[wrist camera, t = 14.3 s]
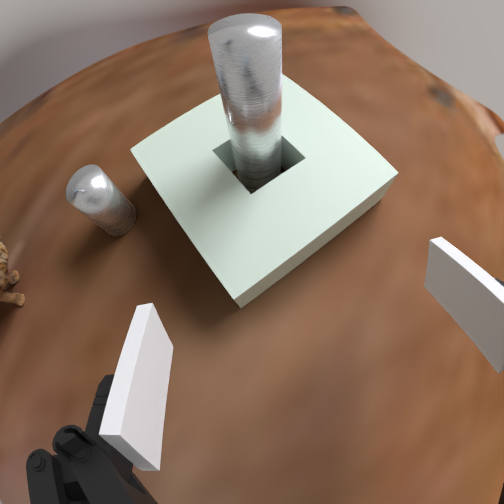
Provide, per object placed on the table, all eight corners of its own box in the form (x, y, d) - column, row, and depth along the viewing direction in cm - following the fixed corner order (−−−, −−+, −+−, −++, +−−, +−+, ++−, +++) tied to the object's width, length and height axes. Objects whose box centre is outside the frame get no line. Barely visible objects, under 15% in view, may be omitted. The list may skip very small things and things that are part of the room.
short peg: (99, 216, 24) (61, 184, 18) (127, 194, 24) (95, 156, 19) (112, 243, 23) (72, 214, 17) (142, 220, 23) (108, 184, 18)
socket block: (147, 175, 25) (130, 149, 21) (274, 98, 26) (273, 67, 23) (240, 308, 21) (233, 299, 17) (381, 198, 22) (398, 172, 19)
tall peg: (232, 181, 24) (194, 30, 10) (263, 160, 24) (252, 8, 11) (256, 208, 23) (234, 53, 10) (288, 186, 23) (296, 29, 10)
